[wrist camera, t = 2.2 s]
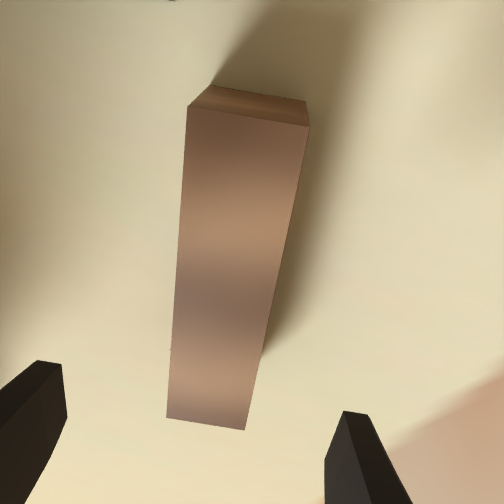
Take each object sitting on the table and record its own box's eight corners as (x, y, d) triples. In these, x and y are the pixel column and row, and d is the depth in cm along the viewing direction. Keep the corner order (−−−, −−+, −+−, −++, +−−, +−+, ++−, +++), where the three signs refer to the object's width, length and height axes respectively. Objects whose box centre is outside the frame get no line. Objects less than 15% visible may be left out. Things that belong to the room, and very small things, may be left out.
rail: (251, 362, 22) (244, 430, 18) (185, 352, 22) (166, 417, 18) (305, 100, 15) (309, 127, 12) (210, 84, 15) (187, 106, 12)
